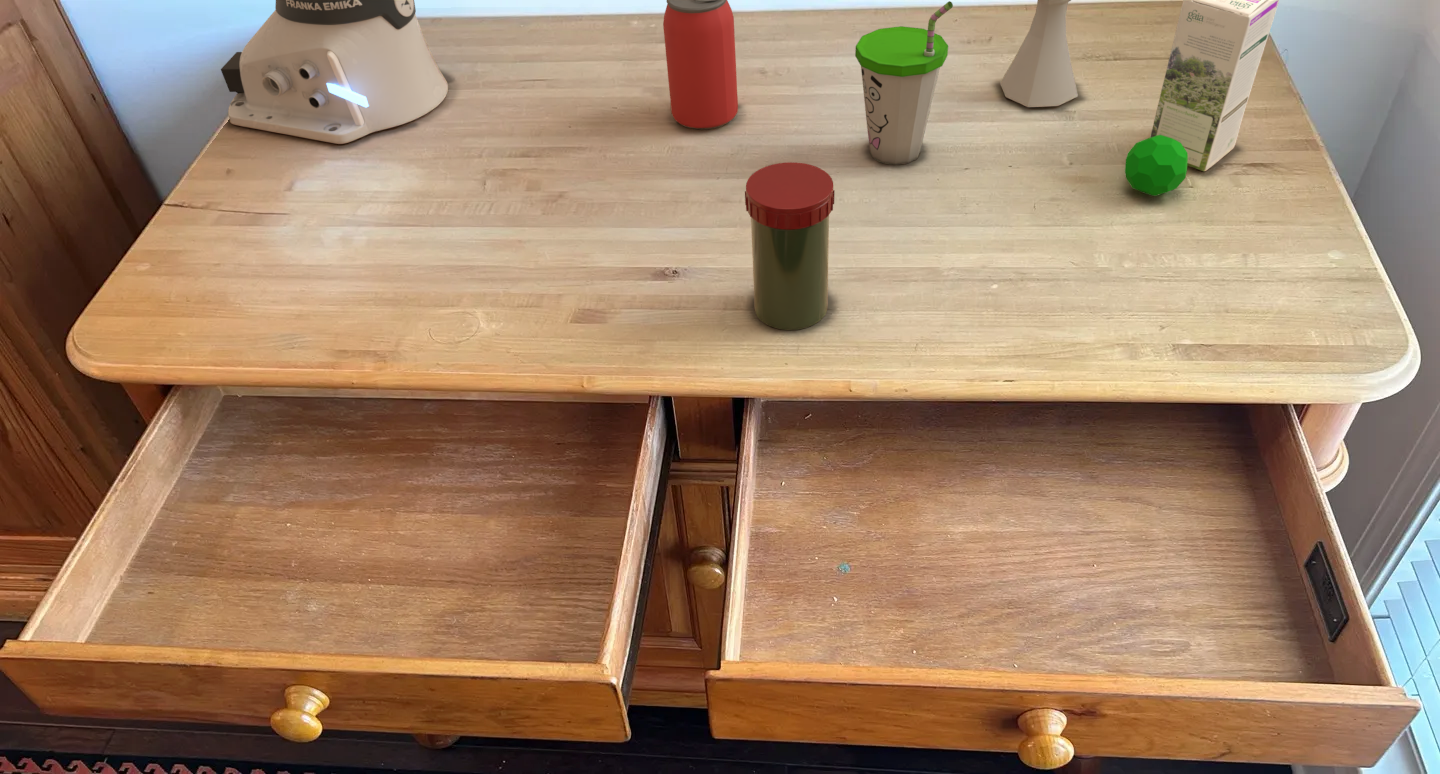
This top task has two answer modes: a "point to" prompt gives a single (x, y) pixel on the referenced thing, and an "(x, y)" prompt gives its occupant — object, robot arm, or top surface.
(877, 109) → the cup
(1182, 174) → the polyhedron
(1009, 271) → the top surface
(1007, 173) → the top surface
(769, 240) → the jar
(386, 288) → the top surface
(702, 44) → the beer can
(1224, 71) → the syrup box
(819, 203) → the lid
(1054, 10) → the flask
